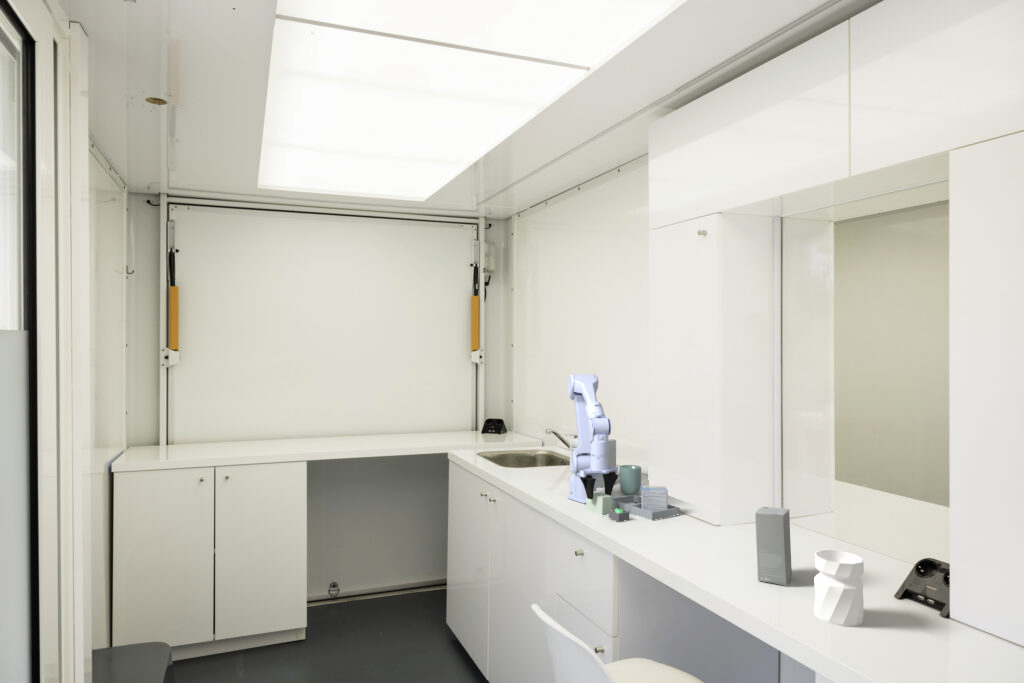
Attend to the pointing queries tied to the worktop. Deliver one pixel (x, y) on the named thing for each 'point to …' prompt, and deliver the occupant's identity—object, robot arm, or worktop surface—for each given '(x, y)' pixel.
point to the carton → (599, 503)
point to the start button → (619, 510)
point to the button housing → (619, 515)
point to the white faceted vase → (838, 588)
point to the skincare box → (773, 545)
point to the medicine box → (654, 498)
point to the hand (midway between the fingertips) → (599, 497)
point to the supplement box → (575, 444)
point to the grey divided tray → (636, 509)
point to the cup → (630, 479)
